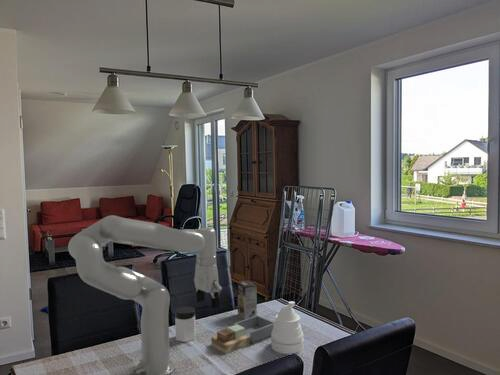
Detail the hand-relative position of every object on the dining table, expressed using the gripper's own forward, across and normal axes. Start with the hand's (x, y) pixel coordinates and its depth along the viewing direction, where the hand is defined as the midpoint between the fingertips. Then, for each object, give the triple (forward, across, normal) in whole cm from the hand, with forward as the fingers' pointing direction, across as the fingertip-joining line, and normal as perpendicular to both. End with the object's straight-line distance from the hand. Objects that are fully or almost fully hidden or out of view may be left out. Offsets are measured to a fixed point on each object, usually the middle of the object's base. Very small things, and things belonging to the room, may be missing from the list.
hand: (207, 304), depth 152 cm
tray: (+19, 0, +23) cm, 30 cm away
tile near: (+16, 0, +8) cm, 18 cm away
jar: (+19, -18, 0) cm, 26 cm away
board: (+19, 0, +10) cm, 22 cm away
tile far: (+16, 0, +13) cm, 21 cm away
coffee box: (+20, -18, +34) cm, 43 cm away
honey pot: (+20, +17, +26) cm, 37 cm away
